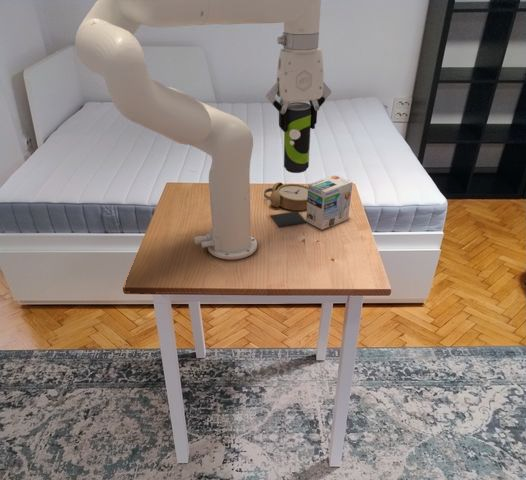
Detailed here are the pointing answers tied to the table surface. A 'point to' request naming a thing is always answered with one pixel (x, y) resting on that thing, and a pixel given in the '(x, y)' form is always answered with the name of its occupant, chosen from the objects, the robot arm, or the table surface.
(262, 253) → the table surface
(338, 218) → the light bulb box
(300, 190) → the alarm clock
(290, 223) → the mat
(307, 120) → the beverage can
